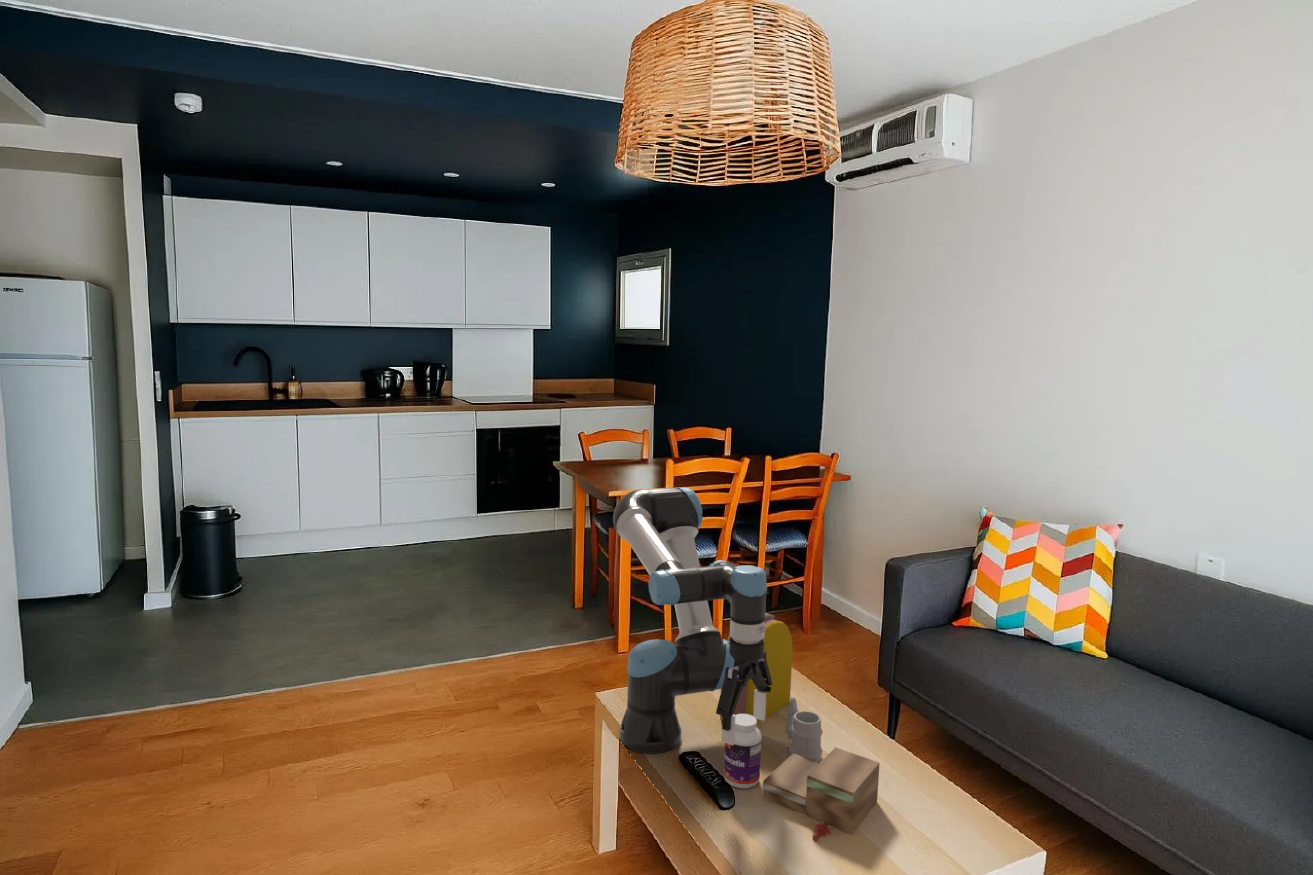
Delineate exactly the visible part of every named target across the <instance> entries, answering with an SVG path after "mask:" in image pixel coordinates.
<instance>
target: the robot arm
mask: <svg viewBox="0 0 1313 875" xmlns="http://www.w3.org/2000/svg"><path fill="white" fill-rule="evenodd" d="M703 518H704V517H703V508H702V504H701V501H700V498H699V496H698V495H697V493H696V492H695V491H694V490H692V489H691V488H689V487H679V486H673V487H661V488H645V489H644V488H643V489H642V488H640V489H635V490H632V491H630V492H628V493H626V494H625V495H624V496H623V497H622V498H621V499H620V500H619V501H618V502H617V504H616V506H615V508H614V510H613V516H612V523H613V526H614V529H615V531H616V533H617V535H618V537H620V538H621V539H622V540H624V541H626V542H628V544H629V546H630V547H631V549H632V550H633V552H634V553H635V554H636V557H637V558H638V559H639V561H640V562H641V564H642V566H643V567H644V568H645V570H646V572H647V573H648V575H649V578H648V592H649V595H650V599H651V601H652V603H654V604H655V605H658V606H665V605H668V606H673V605H674V609H675V614H676V620H677V624H678V630H679V634H678V636H677V637H676V638H675V643H674V642H673V641H671V640H668V639H659V638H656V639H654V638H653V639H648V640H645V641H642V642H639V643H637V644H636V645H635V646H634V647H632V649H631V650H629V653H628V662H627V667H626V672H627V692H626V693H627V698H626V699H627V702H626V710H625V712H624V715H623V716H622V717H623V718H622V720H621V722H620V723H621V724H620V726H619V740H620V742H621V744H622V745H623V746H625V747H626V748H627V749H629V750H631V751H634V752H638V753H643V754H644V753H645V754H658V753H659V754H660V753H665V752H668V751H670V750H673V749H675V748H676V747H678V745H679V744H680V742H682V726H681V724H680V720H679V718H678V714H677V711H676V706H675V705H676V697H678V696H684V695H691V694H699V693H705V692H714V691H717V690H720V696H719V697H718V698H719V699H718V703H717V707H716V712H715V713H716V715H719V716H720V715H721V716H722V719H721V720H722V721H721V742H722V743H724V744H725V743H727V744H730V745H734V744H735V715H733V713H734V710H735V708H736V705H737V702H738V699H739V697H740V694H741V691H742V689H743V687H745V686H746V684H747V682H748V681H749V679H752V681H753V683H754V684H755V686H756V688H757V689H758V690H754V713H753V717H755V718H756V719H759V720H762V721H761V722H765V721H766V719H767V718H766V691H767V692H770V691H771V687H768V686H771V685H772V679H771V676H770V672H769V668H768V664H767V660H766V652H765V651H764V640H763V638H764V632H765V630H766V628H765V613H766V606H767V604H766V603H767V590H768V584H767V574H766V571H765V570H764V568H761V567H759V566H755V565H749V564H748V565H745V564H744V565H743V564H742V565H738V566H737V565H736V564H734V563H731V562H730V561H727V560H721V559H719V560H715V561H714V562H711V563H710V564H709V565H707V566H701V564H700V560H699V555H698V551H697V546H696V542H695V538H696V537H697V535H698V533H699V529H700V527H702V523H703ZM717 600H725V601H726V602H728V603H729V604H730V618H729V619H730V620H729V621H730V622H729V634H730V636H731V638H730V642H729V641H728V640H726V639H723V638H722V633H721V631H720V630H719V629H718V628H716V627H714V625H713V621H712V617H711V611H710V606H709V602H708V601H717ZM764 678H765V679H764ZM737 679H738V680H740V681H738V680H737ZM721 689H722V690H721ZM765 718H766V719H765Z"/></svg>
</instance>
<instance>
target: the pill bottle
mask: <svg viewBox="0 0 1313 875" xmlns="http://www.w3.org/2000/svg"><path fill="white" fill-rule="evenodd" d="M757 725H758V724H757V720H756V718H755V717H753V716H752V715H748V714H737V715H735V744H734V745H730V744H727V743H725V742H724V754H723V755H724V757H723V760H724V761H723V778H724V780H725V782H726V783H728V785H730V786H732V787H735V788H738V789H750V788H753V787H755V786H756V785H758V783H759V781H760V780H761V779H760V778H761V777H760V776H761V760H762V756H761V755H762V741H763V740H762V739H763V738H762V732H761V730H760V729H759V728H758V727H757Z"/></svg>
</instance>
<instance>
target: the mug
mask: <svg viewBox="0 0 1313 875" xmlns="http://www.w3.org/2000/svg"><path fill="white" fill-rule="evenodd" d="M784 721H785V723H784V724H785V733H786V736H787V739H788V740H791V742H790V744H789V747H788V749H789V750H788V751H789V753H790V754H789V755H790V756H791V755H792V754H793V753H794V754H797V755H799V756H802V757H805V758H808V759H810V760H813V761H816V762H818V763H820V762H821V758H822V755H823V747H822V735H823V732H824V731H823V729H822V718H821V716H820V715H819V714H818V713H815V712H813V711H810V710H799V709H798V703H797V699H796V698H795V696H792V697H790V702H789V706H788V710H787V713H786V716H785V720H784Z"/></svg>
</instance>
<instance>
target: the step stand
mask: <svg viewBox="0 0 1313 875" xmlns="http://www.w3.org/2000/svg"><path fill="white" fill-rule="evenodd" d="M879 776H880V762H879V761H877V760H873V759H869V758H867V757H865V756H862V755H858V754H856V753H853V752H852V751H848V750H845V749H841V748H839V747H837V746H835V747H834V748H833V749H832V750H831V751H830V752H829V753H828V754H827V755H826V756H825V757H823V759H822V760H820V761H819V762H816V761H813V760H810V759H808V758H805V757H802V756H799V755H797V754H794V753H793V754H792V755H790V756H789V757H788V758H786V759H785V760H784V761H783V762H782V763H781V764H780V765H779V766H777V767H776V769H775V770H774V771H772V772H770V774H769V775H768V776H766V777H765V778H764V779H763V780H762V799H763V800H764V799H765V800H767V801H769V802H771V803H774V804H777V805H779V806H781V807H783V808H786V809H788V810H790V811H792V812H796V813H798V814H799V815H803V816H805V817H807V818H810V819H811V820H815V821H817V822H819V823H815V824H814V829H815V833H813V834H812V840H814V841H816V842H818V841H819V840H820V839H821V838H822V837H823V836H829V835H831V832H832V831H831V829H830V828H831V827H832V828H833V829H837V830H838V831H841V832H843V833H846V834H849V835H852V834H853V833H854V832H855V831H856V829H857V828H858V827H859V826H860V824H861V823H862V822H863V821H864V820H865V819H866V817H867V815H868V814H869V813H870V811H871V810H872V809H873V808H874V807H875V805H876V804H877V803H878V795H879V793H878V791H879V781H880V780H879V779H880V778H879Z"/></svg>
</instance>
